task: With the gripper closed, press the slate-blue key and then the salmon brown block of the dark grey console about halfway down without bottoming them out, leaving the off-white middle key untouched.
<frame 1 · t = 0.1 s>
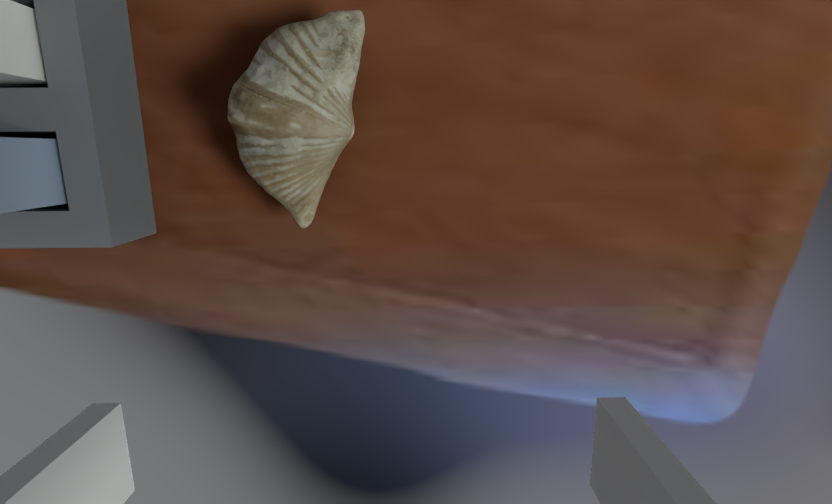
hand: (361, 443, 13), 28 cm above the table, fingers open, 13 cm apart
console: (65, 61, 37), on the table
blue key: (0, 173, 31), point 8 cm above the table, slide at 0.0 cm
seashell: (307, 124, 38), on the table
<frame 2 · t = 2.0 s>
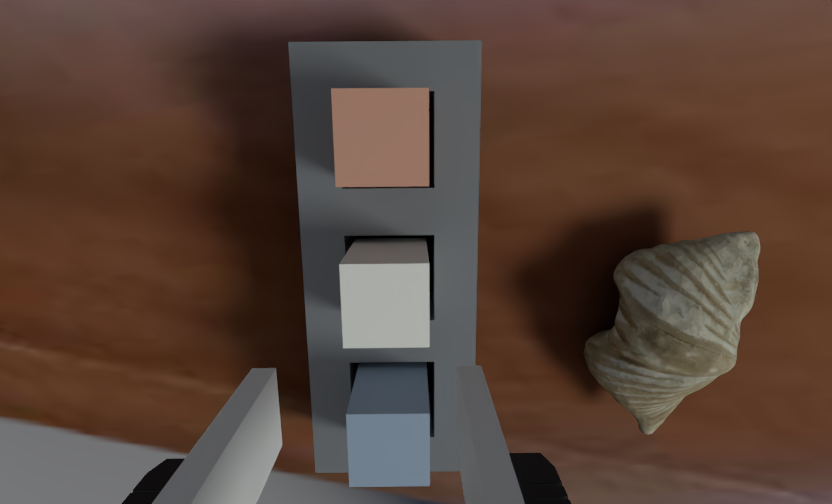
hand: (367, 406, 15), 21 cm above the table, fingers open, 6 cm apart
white key: (388, 287, 27), point 8 cm above the table, slide at 0.0 cm
console: (394, 257, 35), on the table
blue key: (391, 415, 29), point 8 cm above the table, slide at 0.0 cm
salmon brown block: (385, 140, 25), point 8 cm above the table, slide at 0.0 cm
seashell: (635, 315, 36), on the table
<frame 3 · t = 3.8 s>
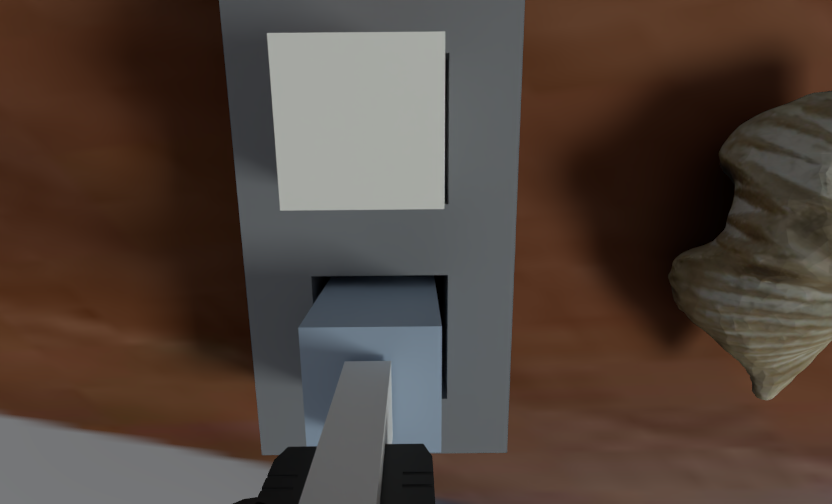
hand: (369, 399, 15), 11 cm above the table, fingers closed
white key: (371, 129, 16), point 8 cm above the table, slide at 0.0 cm
console: (385, 135, 23), on the table
blue key: (379, 347, 19), point 7 cm above the table, slide at 1.0 cm, touching gripper
seashell: (739, 228, 25), on the table
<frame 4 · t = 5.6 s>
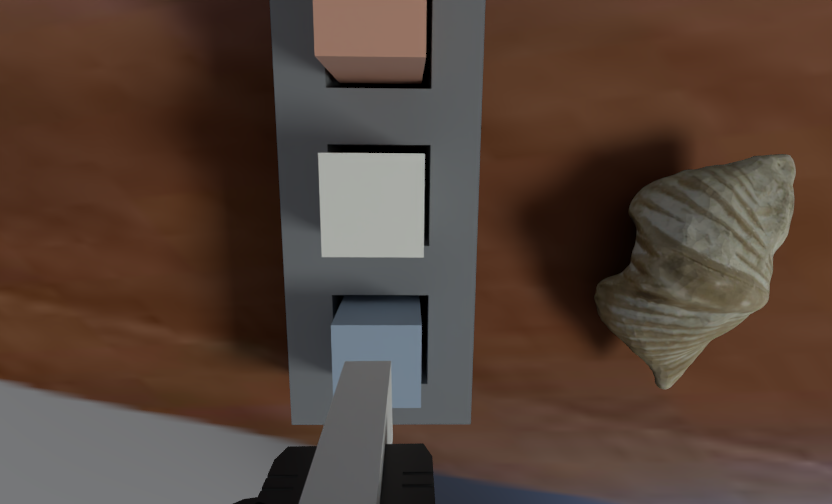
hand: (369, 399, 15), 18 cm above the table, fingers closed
white key: (377, 199, 24), point 8 cm above the table, slide at 0.0 cm
console: (384, 189, 31), on the table
blue key: (380, 340, 27), point 6 cm above the table, slide at 1.7 cm
salmon brown block: (375, 21, 22), point 8 cm above the table, slide at 0.0 cm
seashell: (650, 260, 33), on the table
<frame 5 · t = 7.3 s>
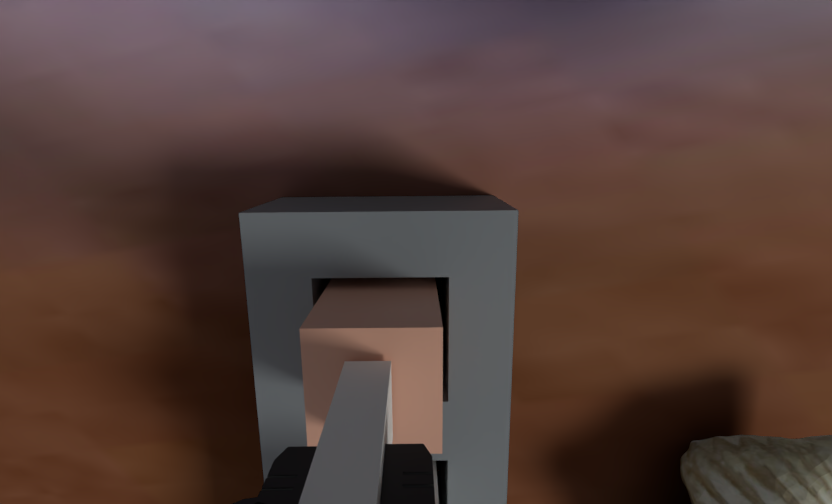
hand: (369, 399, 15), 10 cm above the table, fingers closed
console: (392, 434, 27), on the table
salmon brown block: (380, 348, 19), point 7 cm above the table, slide at 1.2 cm, touching gripper
seashell: (702, 501, 28), on the table
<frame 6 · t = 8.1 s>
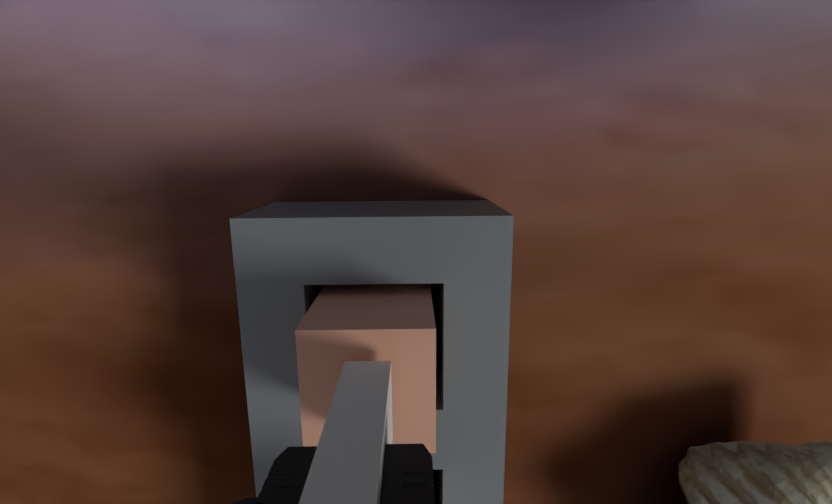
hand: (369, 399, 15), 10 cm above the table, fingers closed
console: (387, 442, 27), on the table
salmon brown block: (375, 349, 19), point 6 cm above the table, slide at 1.8 cm
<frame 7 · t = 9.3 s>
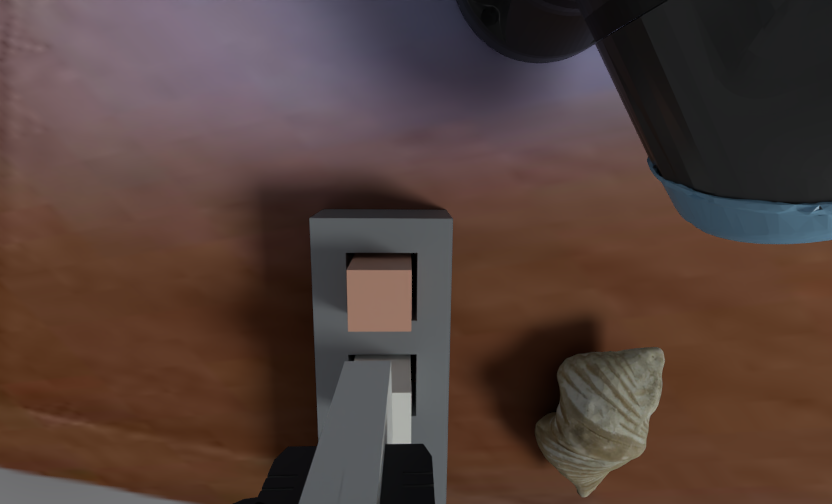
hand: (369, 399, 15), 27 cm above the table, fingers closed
white key: (381, 397, 36), point 8 cm above the table, slide at 0.0 cm
console: (385, 355, 44), on the table
salmon brown block: (381, 287, 36), point 6 cm above the table, slide at 1.8 cm
seashell: (576, 400, 46), on the table
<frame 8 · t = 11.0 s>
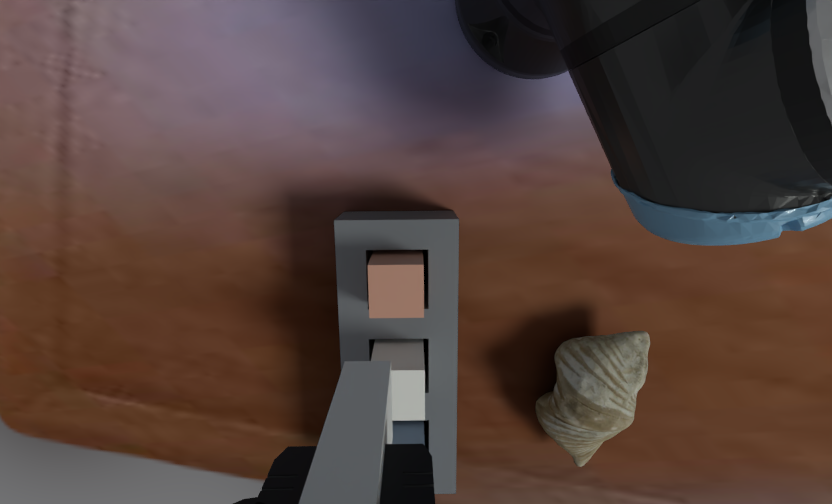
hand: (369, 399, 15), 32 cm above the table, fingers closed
white key: (398, 375, 42), point 8 cm above the table, slide at 0.0 cm
console: (400, 340, 49), on the table
blue key: (400, 446, 45), point 6 cm above the table, slide at 1.7 cm
salmon brown block: (397, 280, 41), point 6 cm above the table, slide at 1.8 cm
seashell: (573, 380, 51), on the table
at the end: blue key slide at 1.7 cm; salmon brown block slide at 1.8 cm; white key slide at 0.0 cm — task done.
